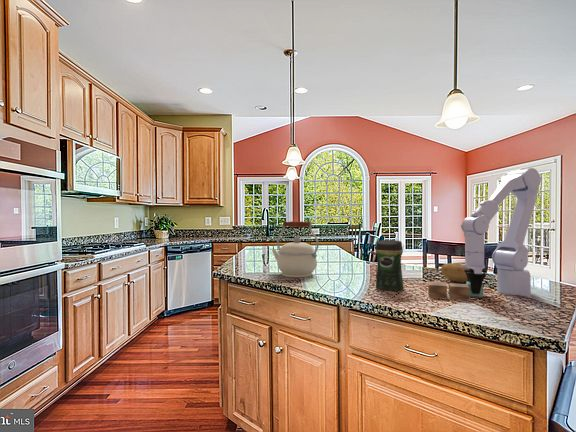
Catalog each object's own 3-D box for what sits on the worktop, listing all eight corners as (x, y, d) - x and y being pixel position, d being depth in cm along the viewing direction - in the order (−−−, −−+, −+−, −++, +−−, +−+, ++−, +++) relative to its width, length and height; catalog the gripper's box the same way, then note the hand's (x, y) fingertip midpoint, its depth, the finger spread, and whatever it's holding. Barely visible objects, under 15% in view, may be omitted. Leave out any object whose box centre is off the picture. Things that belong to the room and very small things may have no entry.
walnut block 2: (466, 296, 115) (466, 284, 115) (469, 299, 110) (469, 287, 110) (448, 294, 117) (448, 283, 117) (450, 298, 112) (450, 286, 112)
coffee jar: (405, 289, 129) (405, 239, 129) (399, 293, 122) (399, 241, 122) (379, 286, 134) (379, 238, 134) (373, 290, 127) (373, 240, 127)
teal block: (480, 294, 119) (480, 282, 119) (483, 296, 115) (483, 284, 115) (466, 292, 120) (466, 281, 120) (468, 295, 116) (468, 283, 116)
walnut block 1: (445, 294, 118) (445, 282, 118) (446, 298, 113) (446, 286, 113) (428, 293, 120) (428, 281, 120) (428, 296, 114) (428, 284, 114)
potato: (442, 278, 150) (442, 260, 150) (479, 282, 143) (479, 262, 143) (438, 282, 142) (438, 263, 142) (477, 286, 135) (477, 265, 135)
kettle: (327, 274, 162) (326, 221, 162) (308, 280, 147) (307, 221, 147) (282, 269, 176) (282, 220, 176) (260, 275, 160) (260, 221, 160)
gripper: (459, 249, 126) (459, 286, 126) (464, 253, 112) (464, 295, 112) (480, 250, 123) (480, 288, 123) (489, 254, 110) (489, 297, 110)
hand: (474, 291), depth 118 cm, fingers closed on teal block, 4 cm apart
